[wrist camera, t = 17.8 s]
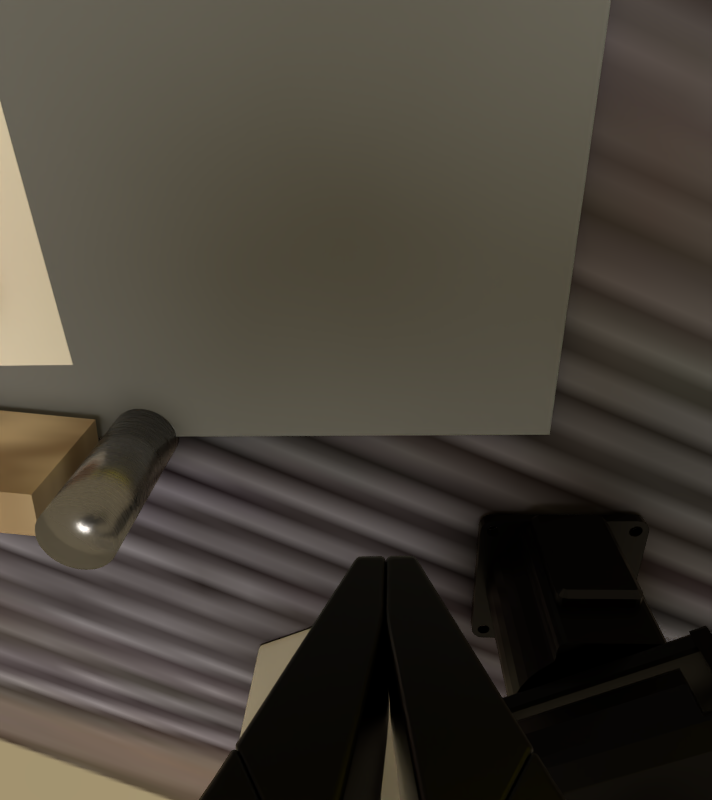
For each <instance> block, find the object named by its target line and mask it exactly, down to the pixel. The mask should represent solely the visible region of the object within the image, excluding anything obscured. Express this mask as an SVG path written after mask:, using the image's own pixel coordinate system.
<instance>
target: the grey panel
mask: <svg viewBox="0 0 712 800" xmlns="http://www.w3.org/2000/svg"><path fill="white" fill-rule="evenodd" d="M610 4H611V0H0V410H2V411H12V412H22V413H33V414H43V415H53V416H64V417H74V418H85V419H95V420H96V427H97V434H98V437H103V436H104V434H105V433H106V432H107V431H108V429H109V428H110V427H111V425H112V424H113V423H114V422H115V420H116V419H117V418H118V417H119V416H120V415H121V414H122V413H124V412H126V411H128V410H132V409H146V410H150V411H153V412H156V413H157V414H159V415H161V416H162V417H164V418H165V419H166V420H167V421H168V422H169V423H170V424H171V426H172V427H173V429H174V431H175V433H176V437H188V436H380V435H550V428H551V420H552V413H553V406H554V399H555V392H556V385H557V378H558V371H559V364H560V357H561V350H562V343H563V336H564V329H565V322H566V314H567V307H568V300H569V293H570V286H571V279H572V272H573V265H574V258H575V251H576V244H577V237H578V230H579V223H580V216H581V209H582V201H583V194H584V187H585V180H586V173H587V166H588V159H589V152H590V145H591V138H592V131H593V124H594V117H595V110H596V103H597V96H598V88H599V81H600V74H601V67H602V60H603V53H604V46H605V39H606V32H607V25H608V18H609V11H610Z"/></svg>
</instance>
